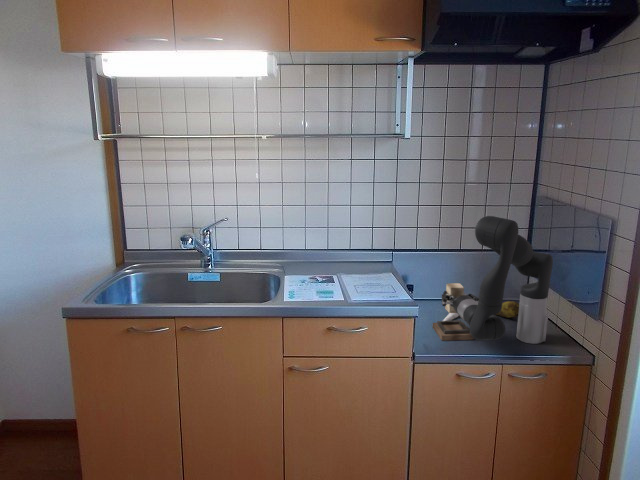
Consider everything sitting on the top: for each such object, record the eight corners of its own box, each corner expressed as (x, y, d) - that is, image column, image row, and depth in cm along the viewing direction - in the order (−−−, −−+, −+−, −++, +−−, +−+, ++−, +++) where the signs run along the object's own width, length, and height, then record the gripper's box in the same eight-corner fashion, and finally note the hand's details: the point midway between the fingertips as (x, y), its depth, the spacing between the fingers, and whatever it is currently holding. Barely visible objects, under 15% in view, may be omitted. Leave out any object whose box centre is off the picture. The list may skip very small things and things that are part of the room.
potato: (503, 311, 208) (505, 293, 207) (524, 322, 197) (526, 303, 195) (487, 313, 206) (488, 295, 204) (507, 325, 194) (509, 306, 192)
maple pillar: (457, 308, 187) (459, 283, 185) (462, 312, 182) (464, 287, 180) (445, 308, 187) (446, 283, 185) (449, 313, 182) (450, 287, 180)
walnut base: (462, 326, 193) (462, 318, 192) (473, 339, 181) (474, 331, 181) (432, 327, 192) (432, 319, 192) (441, 340, 181) (442, 332, 180)
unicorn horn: (431, 324, 196) (432, 312, 195) (461, 308, 213) (462, 298, 212) (441, 327, 193) (442, 316, 192) (471, 311, 209) (472, 300, 208)
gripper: (489, 298, 169) (471, 283, 185) (448, 299, 168) (434, 284, 184) (487, 318, 171) (469, 301, 187) (447, 320, 170) (433, 302, 186)
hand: (452, 293), depth 186 cm, fingers closed on maple pillar, 5 cm apart
